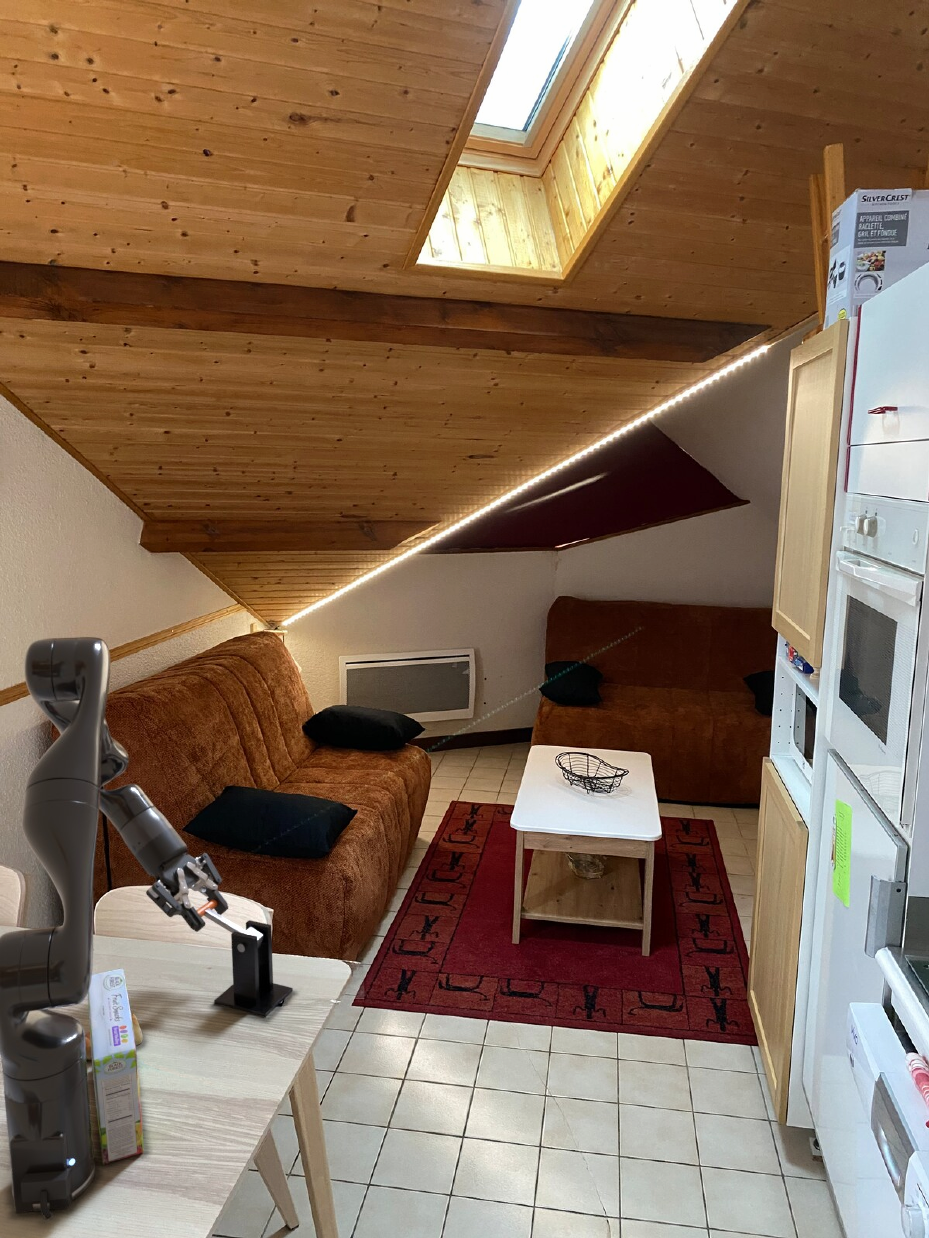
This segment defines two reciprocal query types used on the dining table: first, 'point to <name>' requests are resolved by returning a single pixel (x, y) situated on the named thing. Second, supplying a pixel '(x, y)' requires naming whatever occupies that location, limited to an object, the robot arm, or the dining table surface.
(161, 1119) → the dining table surface
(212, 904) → the lever
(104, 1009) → the snack box
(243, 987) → the bracket
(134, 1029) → the pastry
